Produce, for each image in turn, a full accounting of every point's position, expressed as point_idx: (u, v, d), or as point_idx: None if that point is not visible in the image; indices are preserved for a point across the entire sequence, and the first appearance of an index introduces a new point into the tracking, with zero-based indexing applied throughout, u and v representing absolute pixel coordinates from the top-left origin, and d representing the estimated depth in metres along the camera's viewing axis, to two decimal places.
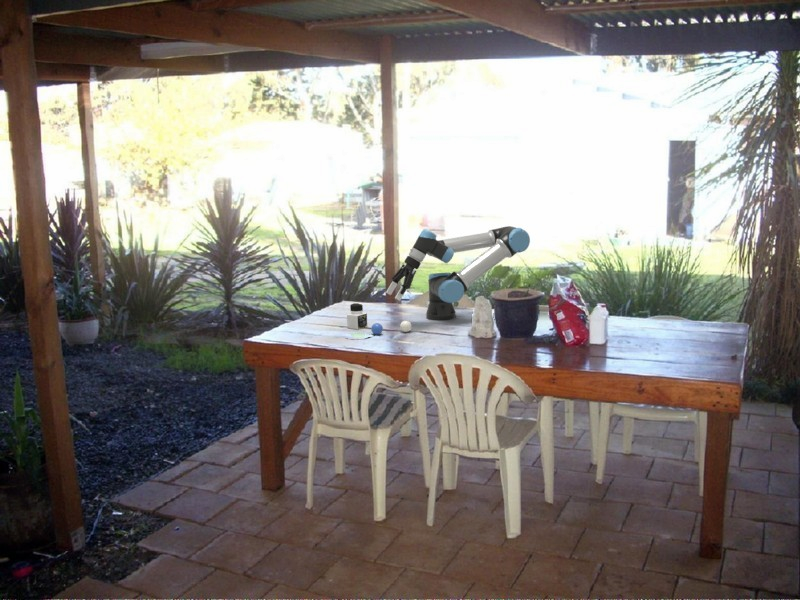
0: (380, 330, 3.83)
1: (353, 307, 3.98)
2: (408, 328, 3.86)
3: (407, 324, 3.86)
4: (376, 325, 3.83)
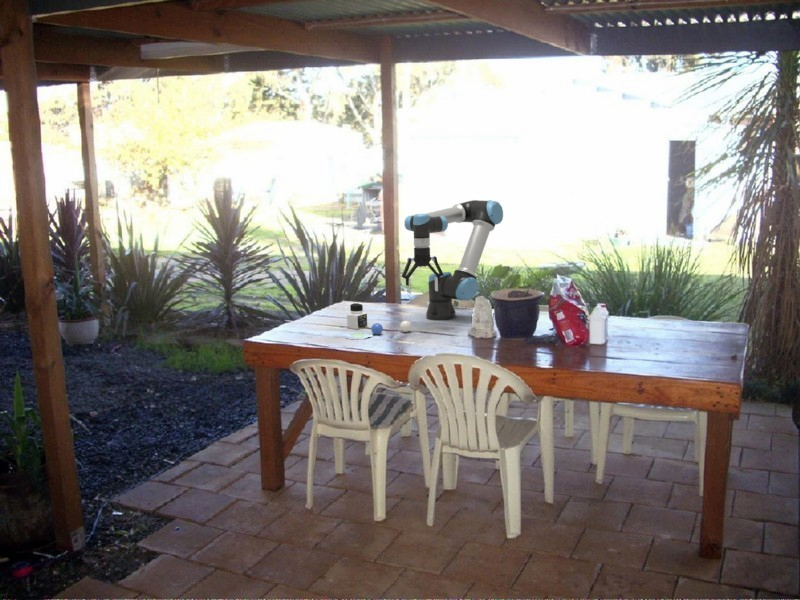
0: (380, 330, 3.83)
1: (353, 307, 3.98)
2: (408, 328, 3.86)
3: (407, 324, 3.86)
4: (376, 325, 3.83)
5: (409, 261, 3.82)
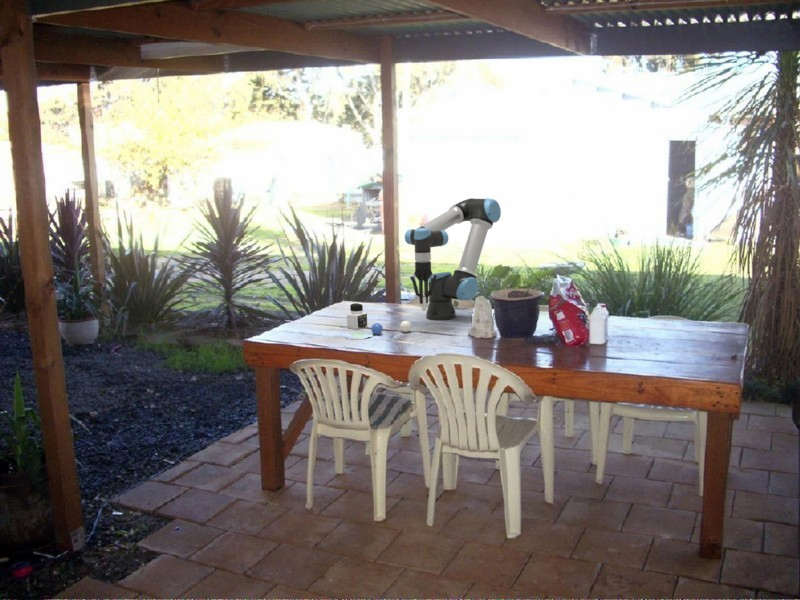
0: (380, 330, 3.83)
1: (353, 307, 3.98)
2: (408, 328, 3.86)
3: (407, 324, 3.86)
4: (376, 325, 3.83)
5: (413, 279, 3.84)
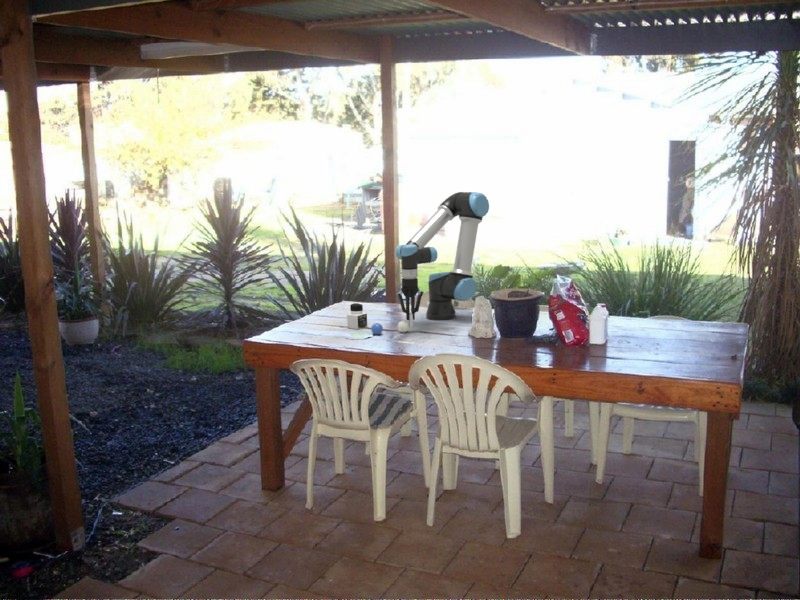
0: (380, 330, 3.83)
1: (353, 307, 3.98)
2: (406, 328, 3.86)
3: (404, 324, 3.85)
4: (376, 325, 3.83)
5: (399, 296, 3.83)
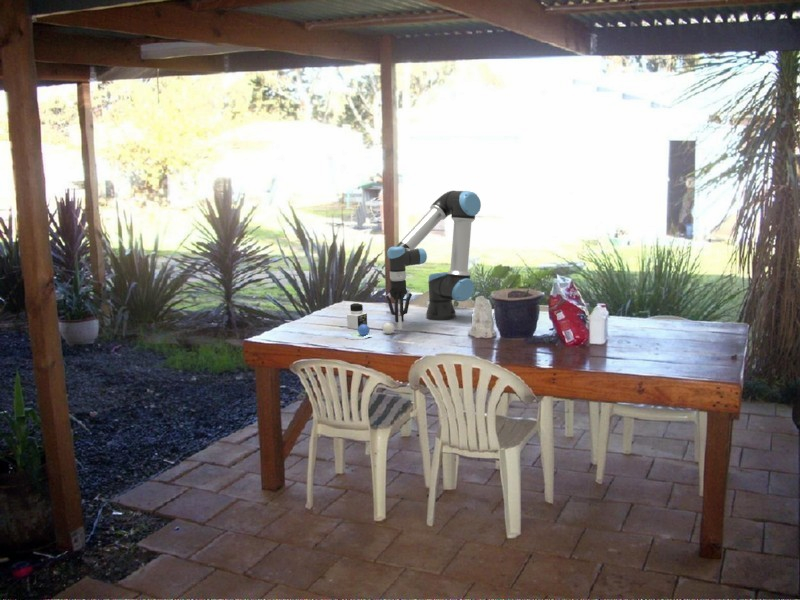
0: (363, 328, 3.81)
1: (353, 307, 3.98)
2: (389, 328, 3.83)
3: (388, 331, 3.84)
4: (362, 334, 3.82)
5: (388, 298, 3.83)
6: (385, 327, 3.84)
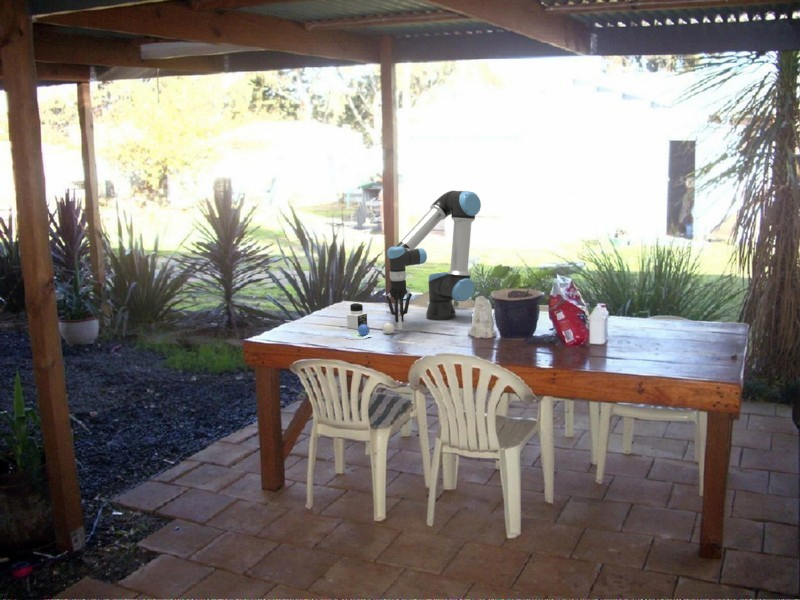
0: (363, 328, 3.81)
1: (353, 307, 3.98)
2: (389, 328, 3.83)
3: (388, 331, 3.84)
4: (362, 334, 3.82)
5: (388, 298, 3.83)
6: (385, 327, 3.84)
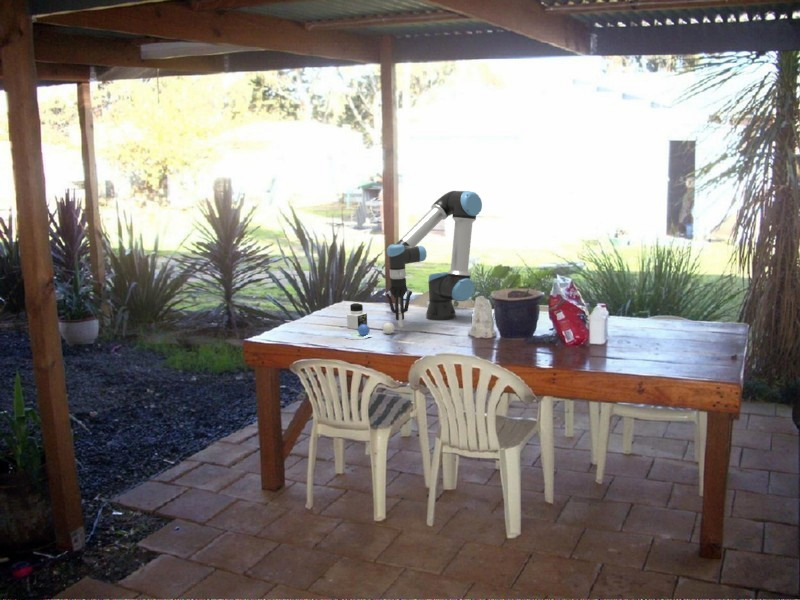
0: (363, 328, 3.81)
1: (353, 307, 3.98)
2: (389, 328, 3.83)
3: (388, 331, 3.84)
4: (362, 334, 3.82)
5: (388, 296, 3.82)
6: (385, 327, 3.84)
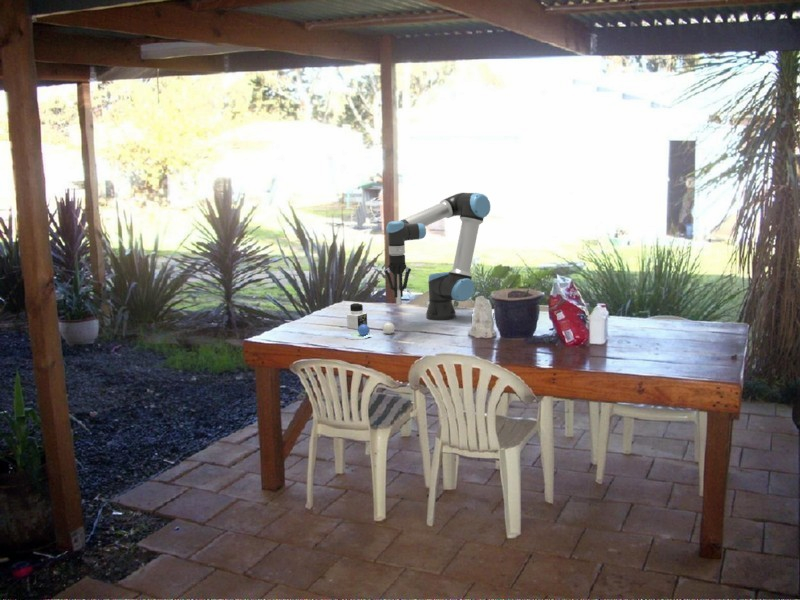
0: (363, 328, 3.81)
1: (353, 307, 3.98)
2: (389, 328, 3.83)
3: (388, 331, 3.84)
4: (362, 334, 3.82)
5: (387, 273, 3.80)
6: (385, 327, 3.84)
